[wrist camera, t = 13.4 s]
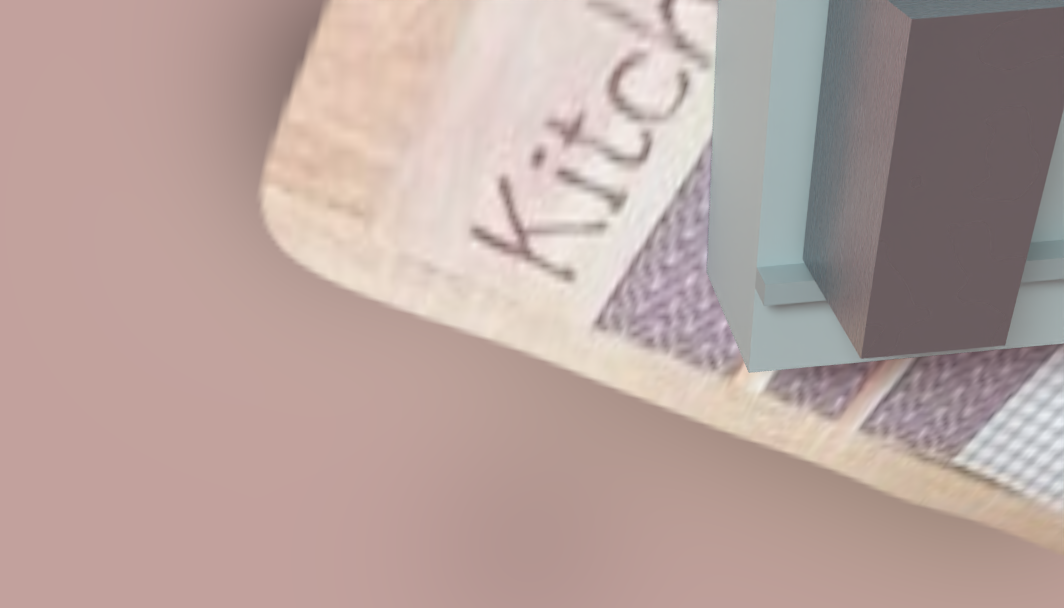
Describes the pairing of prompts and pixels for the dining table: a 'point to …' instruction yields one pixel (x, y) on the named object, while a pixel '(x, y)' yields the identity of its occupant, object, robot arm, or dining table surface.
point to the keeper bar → (931, 166)
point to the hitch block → (783, 192)
